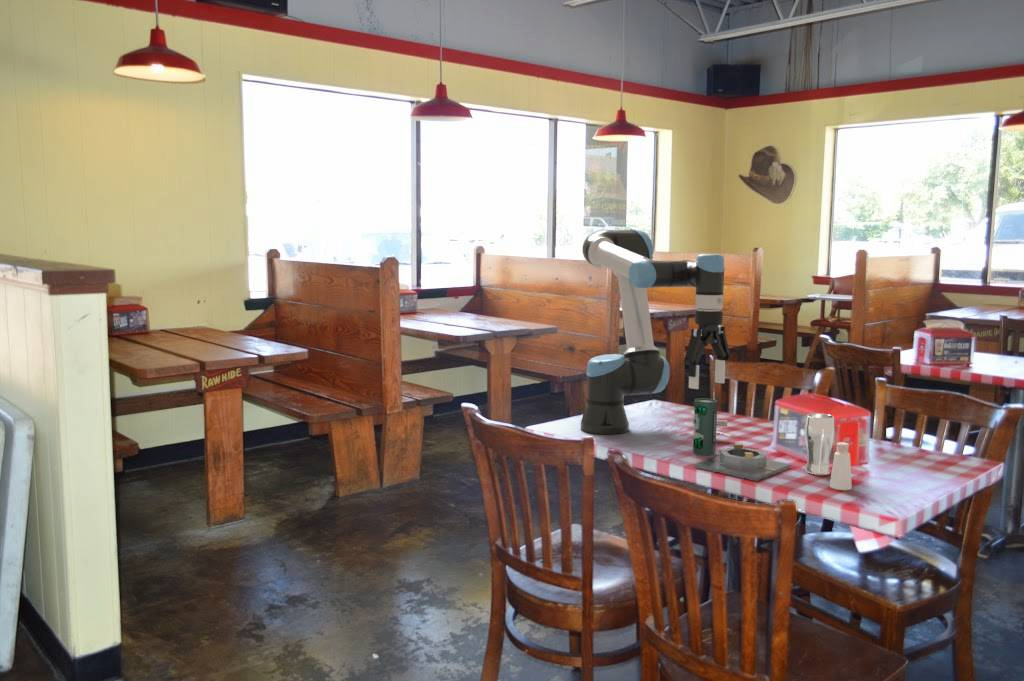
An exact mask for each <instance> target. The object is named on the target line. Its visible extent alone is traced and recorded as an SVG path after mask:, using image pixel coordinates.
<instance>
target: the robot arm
mask: <svg viewBox="0 0 1024 681" xmlns="http://www.w3.org/2000/svg"><path fill="white" fill-rule="evenodd" d="M584 239H585V240H584V242H583V244H582V250H581V251H582V255H583V257H584V260H585V261H586V262H587V263H589V264H590V265H592V266H594V267H596V268H606V269H609V270H611V271H612V274H613V275H615V276H616V277H617V280H618V281H617V282H618V287H619V288H618V289H619V296H620V302H621V303H620V304H621V312H622V319H623V326H624V335H625V343H626V350H625V351H624V353H623V354H619V353H612V354H610V353H609V354H608V353H607V354H600V355H598V356H597V355H596V356H594V357H592V358H590V359H589V360H588V362H587V368H586V404H585V405H586V406H585V408H584V412H583V414H582V418H581V419H580V430H581V431H584V432H586V433H589V434H597V435H619V434H623V433H627V432H628V431H629V430H630V426H629V425H630V422H629V421H628V420H629V419H628V418H627V413H626V410H625V406H624V405H625V404H624V403H625V402H624V397H625V396H635V395H638V396H639V395H651V394H657V393H661V392H662V391H664V389H665V388H666V387H667V385H668V383H669V381H670V364H669V362H668V360H667V358H666V357H664V356H662V355H661V354H660V349H658V347H656V346H655V344H654V336H653V330H652V329H653V328H652V323H651V322H652V321H651V314H650V307H649V306H650V305H649V299H648V290H647V289H651V288H655V289H656V288H695V300H694V302H695V303H694V308H695V309H696V311H695V312H694V313H695V314H694V323H695V324H697V325H698V328H692V329H691V333H690V339H689V342H688V346H687V349H686V353H685V356H684V359H683V362H684V364H685V365H687V366H688V388H689V389H694V390H699V387H700V365H699V361H700V360H701V357H702V355H703V353H704V350H705V349H706V347H707V346H708V345H711V348H712V350H713V352H714V354H715V357H716V358H717V359H715V361H714V363H715V364H714V366H715V367H714V383H718V384H725V382H726V381H725V380H726V379H725V377H726V376H725V375H726V374H725V373H726V361H729V360H730V356H731V352H730V347H729V345H728V340H727V336H726V326H725V325H722V324H723V321H724V320H723V319H724V317H723V316H724V312H723V310H722V309H723V308H724V287H725V285H724V284H725V271H726V270H725V258H724V255H722V254H718V253H717V254H713V253H712V254H710V253H709V254H708V253H707V254H704V253H703V254H701V253H700V254H698V255H697V256H696V260H690V259H689V260H688V259H687V260H685V259H683V260H681V259H680V260H653V258H654V257H653V255H654V245H653V242H652V239H651V237H650V235H648V234H647V233H646V232H645V231H643V230H639V229H638V230H637V229H636V230H635V229H631V228H630V229H600V230H599V229H598V230H596V231H593V232H592V233H590V234H589V235H588V236H587V237H586V238H584ZM618 433H619V434H618Z"/></svg>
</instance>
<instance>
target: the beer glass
mask: <svg viewBox="0 0 1024 681" xmlns="http://www.w3.org/2000/svg"><path fill="white" fill-rule="evenodd" d="M804 436H805V444H806V452H807V453H806V454H807V461H806V465H805V473H807V474H809V473H810V474H809V475H813V474H814V476H829V475H830V474H831V468H830V455H831V451H832V448H833V443H834V437H835V416H834V415H832V414H827V413H822V412H821V413H820V412H819V413H817V412H815V413H814V412H812V413H808V414H807V415H806V422H805V434H804Z"/></svg>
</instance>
